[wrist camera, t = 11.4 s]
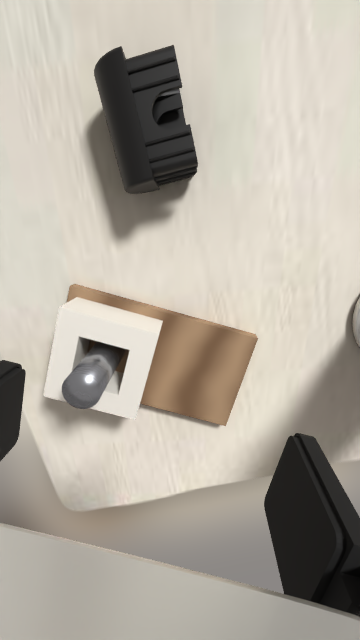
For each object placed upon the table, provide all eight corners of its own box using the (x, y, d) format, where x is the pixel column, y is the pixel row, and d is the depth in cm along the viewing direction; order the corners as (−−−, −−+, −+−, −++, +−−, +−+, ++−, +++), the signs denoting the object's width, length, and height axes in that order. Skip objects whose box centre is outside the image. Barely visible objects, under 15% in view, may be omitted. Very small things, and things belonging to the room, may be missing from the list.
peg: (127, 339, 36) (104, 379, 26) (121, 365, 37) (96, 412, 27) (99, 331, 36) (65, 369, 26) (93, 357, 37) (58, 403, 27)
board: (255, 334, 37) (257, 338, 36) (224, 419, 40) (225, 425, 39) (74, 284, 36) (69, 286, 34) (57, 375, 39) (52, 380, 38)
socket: (163, 320, 35) (159, 334, 30) (142, 396, 38) (135, 420, 33) (77, 297, 35) (59, 306, 30) (61, 375, 37) (43, 396, 33)
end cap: (105, 93, 31) (83, 55, 24) (174, 73, 30) (170, 28, 24) (132, 197, 33) (119, 189, 27) (197, 180, 33) (199, 167, 26)
